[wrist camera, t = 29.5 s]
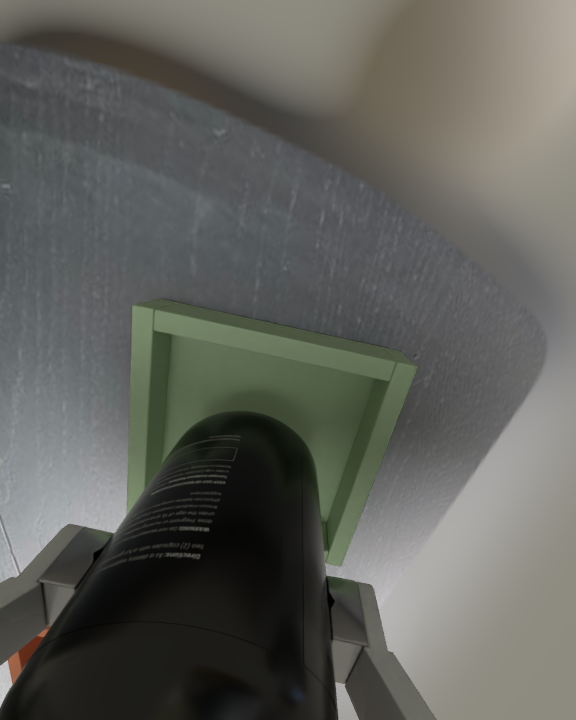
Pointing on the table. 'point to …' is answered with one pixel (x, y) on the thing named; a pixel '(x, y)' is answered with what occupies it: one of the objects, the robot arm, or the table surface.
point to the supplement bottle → (200, 594)
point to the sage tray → (266, 398)
